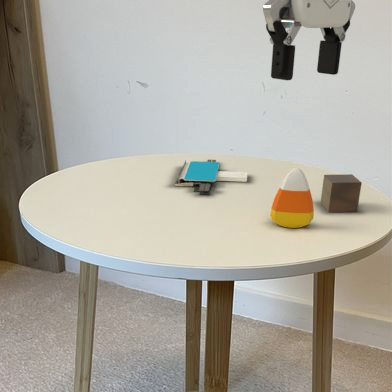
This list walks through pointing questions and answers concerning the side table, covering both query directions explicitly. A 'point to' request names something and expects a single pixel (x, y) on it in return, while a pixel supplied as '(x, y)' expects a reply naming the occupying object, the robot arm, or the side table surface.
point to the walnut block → (340, 193)
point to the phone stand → (205, 175)
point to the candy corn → (293, 201)
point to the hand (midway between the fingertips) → (305, 76)
